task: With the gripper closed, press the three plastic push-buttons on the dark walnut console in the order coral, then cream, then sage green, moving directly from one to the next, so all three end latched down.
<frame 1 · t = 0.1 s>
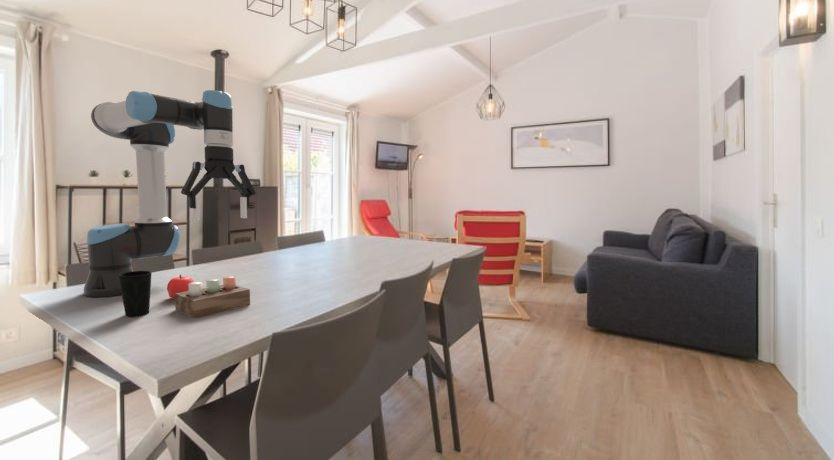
hand: (221, 219, 115), 28 cm above the table, fingers open, 13 cm apart
coral button: (229, 283, 124), point 7 cm above the table, slide at 0.0 cm
apple: (181, 298, 130), on the table
console: (213, 307, 121), on the table
sage button: (213, 286, 120), point 7 cm above the table, slide at 0.0 cm
cup: (137, 314, 113), on the table
cream button: (195, 289, 116), point 7 cm above the table, slide at 0.0 cm
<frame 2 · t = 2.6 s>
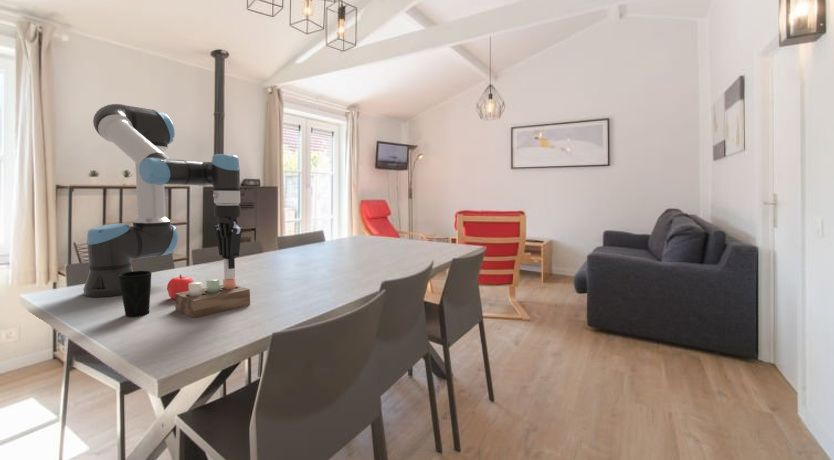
hand: (229, 278, 124), 8 cm above the table, fingers closed
coral button: (229, 285, 124), point 6 cm above the table, slide at 0.5 cm, touching gripper
everything else where it was.
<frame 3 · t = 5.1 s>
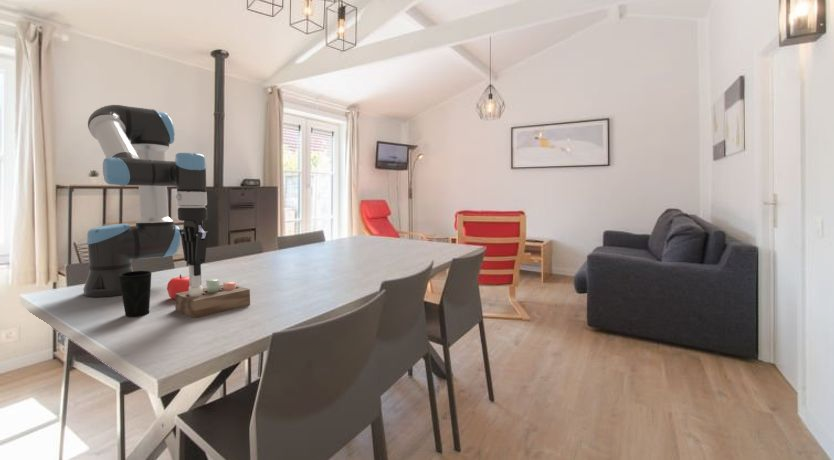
hand: (195, 285, 116), 8 cm above the table, fingers closed
coral button: (229, 289, 124), point 5 cm above the table, slide at 1.9 cm
cream button: (195, 293, 116), point 6 cm above the table, slide at 1.0 cm, touching gripper
everything else where it was.
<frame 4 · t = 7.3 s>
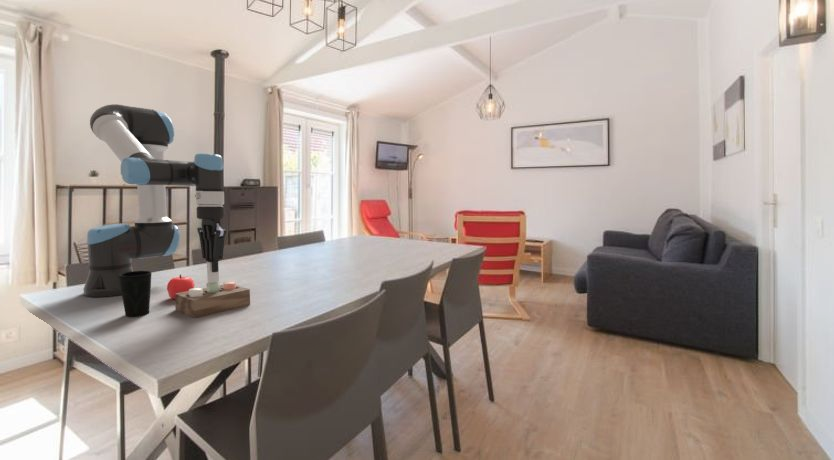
hand: (213, 282, 120), 8 cm above the table, fingers closed
sage button: (213, 289, 120), point 6 cm above the table, slide at 0.8 cm, touching gripper
cream button: (195, 295, 116), point 5 cm above the table, slide at 1.9 cm
everything else where it was.
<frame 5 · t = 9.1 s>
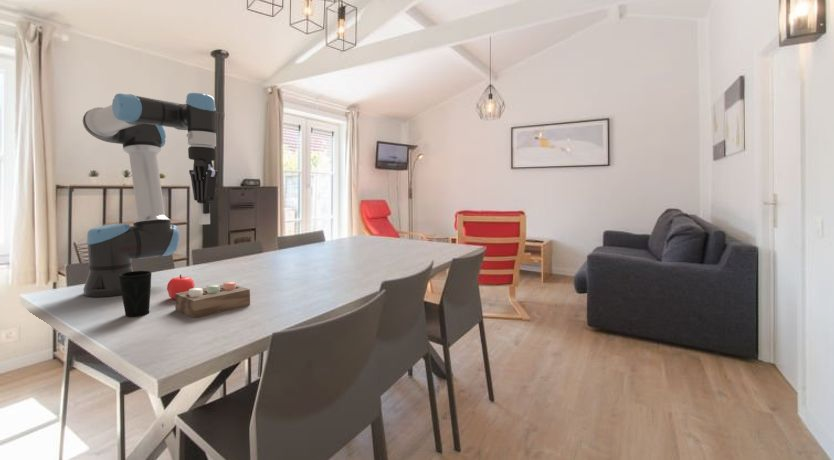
hand: (204, 224, 120), 26 cm above the table, fingers closed
sage button: (213, 292, 120), point 5 cm above the table, slide at 1.9 cm
everything else where it was.
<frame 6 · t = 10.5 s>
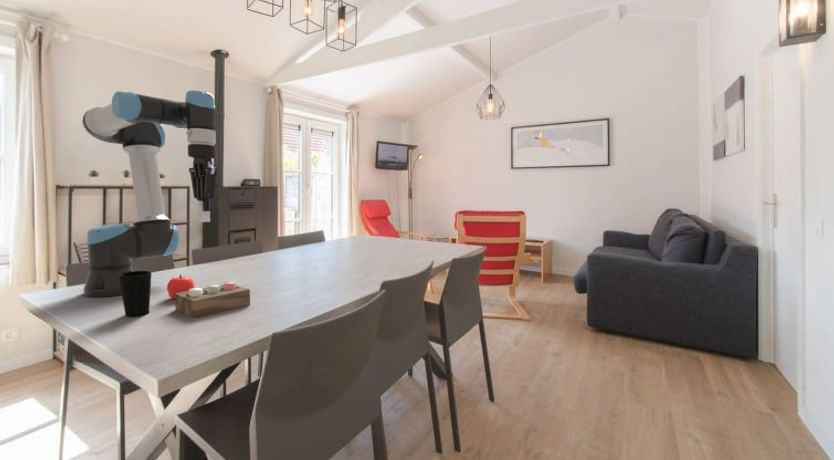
hand: (204, 221, 120), 26 cm above the table, fingers closed
nothing on the table moved.
at the end: coral button slide at 1.9 cm; cream button slide at 1.9 cm; sage button slide at 1.9 cm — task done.
